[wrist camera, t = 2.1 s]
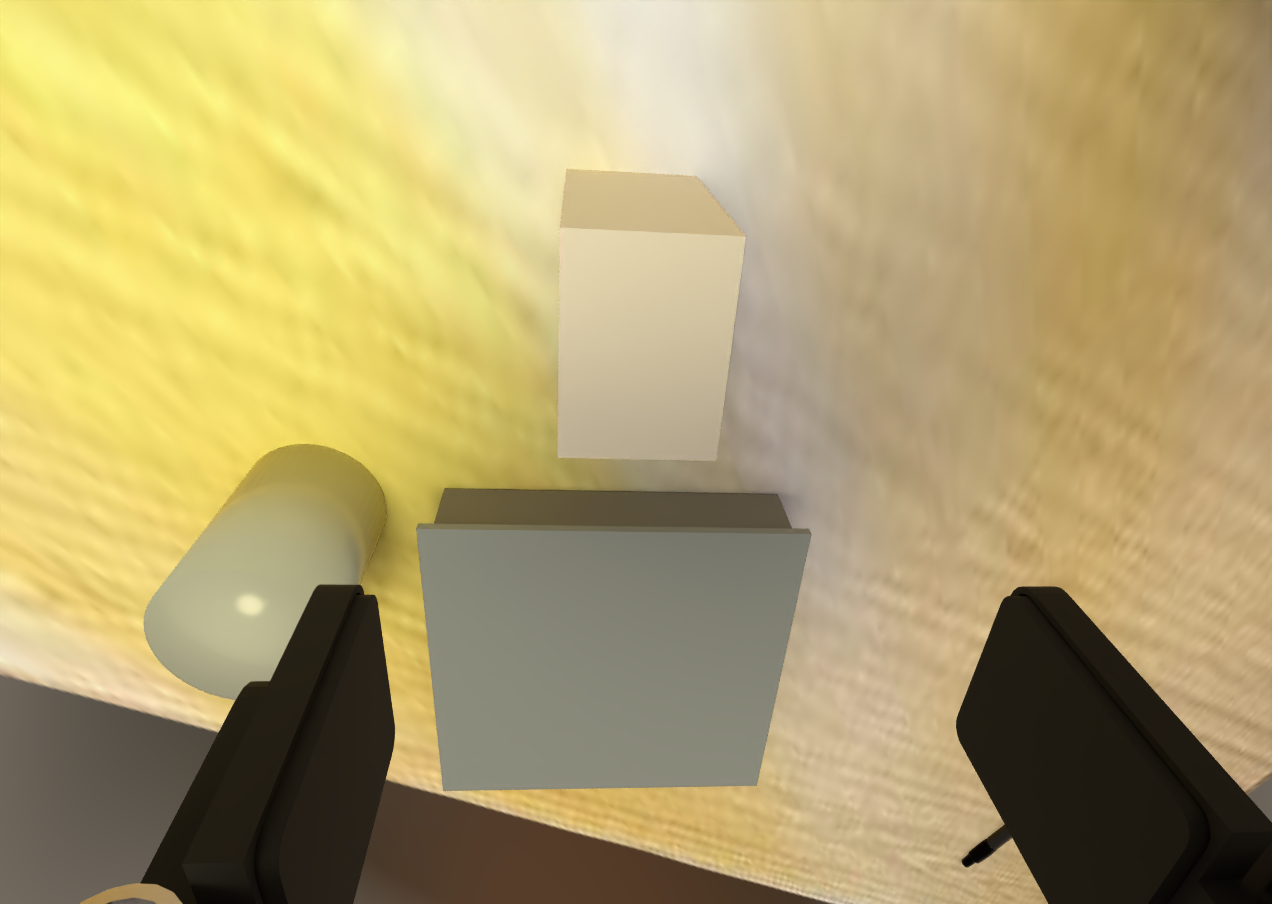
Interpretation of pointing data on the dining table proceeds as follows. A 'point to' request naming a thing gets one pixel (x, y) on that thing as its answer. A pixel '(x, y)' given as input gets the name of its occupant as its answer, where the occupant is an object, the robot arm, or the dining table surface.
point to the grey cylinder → (264, 566)
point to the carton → (644, 316)
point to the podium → (606, 635)
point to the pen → (987, 847)
